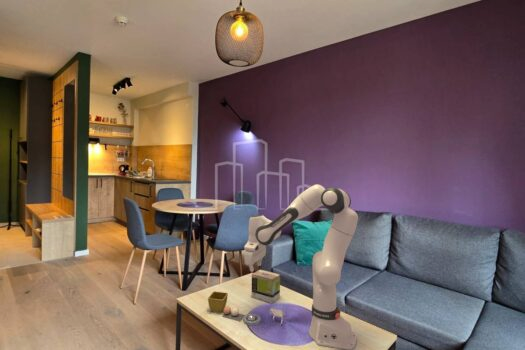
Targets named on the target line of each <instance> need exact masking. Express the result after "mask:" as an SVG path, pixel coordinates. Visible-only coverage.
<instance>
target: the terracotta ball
mask: <svg viewBox="0 0 525 350" xmlns="http://www.w3.org/2000/svg"><path fill="white" fill-rule="evenodd" d="M231 310H232V308H231V307H230V306H229V305H226V306H225V308H224V309H223V311H222V312H223V313H224V314H229V313H230V312H231Z"/></svg>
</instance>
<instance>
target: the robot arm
mask: <svg viewBox="0 0 525 350" xmlns="http://www.w3.org/2000/svg"><path fill="white" fill-rule="evenodd" d="M351 204H352V200H351V196H350V194H348V192H347V191H346V192H345V191H344V190H343V189H341V188H337V187H328V188H325V187H324V186H323V185H321V184H316V183H315V184H313V185H312V186H310V187H308V188H307V189H305V190H304V191H302V192H301V193H299V195H297V196H296V198H295V199H294V200H292V202H291V203H290V204H289V205H288V207H286V209H285V210H284V211H282V213H281V214H280V215H278V216H277V217H276V218H275V219H273V220H271V219H269V218H267V217H266V216H265V215H264V214H253V215H252V216H250V218H249V221H248V230H247V231H248V240H247V242H246V243H245V245H244V247H243V248H244V249H243V250H244V257H243V258H244V264H245V265H246V266H248V268H249V271H250V272H254V271H255V268H254V264H255V263H257V267H258V266H259V267H260V266H261V265H262V263H263V262H262V261H263V258H264V257H265V256H266V254H267V248H266V247H267V246H269V245H271V244H272V243H273V241H275V240H276V239H278V238H279V237H280V236H281V234H282V230H283V229H285V228H286V227H288V226H289V225H290V224H292V223H294V222H296V221H298V220H301V219H303V218H305V217H307V216H309V215H310V214H312V213H313V212H315V211H316V210H317V209H318V208H320V207H321V206H323V207H324V208H326V210H327V211H328V212H330V213H331V214H332V215H334V216H333V220H332V222H331V225H330V226H329V229H328V231H327V233H326V236H325V238H324V240H323V246H322V250H320V251H319V250H318V251H317V252H315V253H314V254H313V257H312V265H311V266H312V268H311V269H312V286H313V287H312V288H313V289H312V294H313V295H312V304H311V323H310V327H309V329H308V335H309V337H310V338H311V339H312V340H314V342H315V344H317V345H318V346H322V347H328V348H335V349H340V350H353V349H355V347H356V345H357V342H358V341H357V340H358V339H357V334H356V333H355V332H354V331H353V330H352V326H351V324H350V322H349V321H347V320H346V319H345V318H344V317H343V316H342V315H341V307H339V308H338V307H337V284H338V283H339V282H340V280H341V276H342V269H343V266H344V261H345V257H346V254H347V250H348V248H349V246H350V244H351V241H352V239H353V237H354V234H355V232H356V230H357V229H356V228H357V224H358V220H359V215H358V214H357V212H356V211H355V210H354V209H352V208H350V206H351Z"/></svg>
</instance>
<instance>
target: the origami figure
mask: <svg viewBox="0 0 525 350" xmlns="http://www.w3.org/2000/svg"><path fill="white" fill-rule="evenodd" d="M268 312H269V315H270V316H272V315H273V316H272V320H273V321H274V322H276V321H275V317H278V318H279V317H280V318H281V321H280V325H281V324H282V325H283V319H284V317H285V316H286V315H287V314H286V313H285V312H284V311H283V310H280V309H276V308H272V307H271V308H270V309H269V310H268Z"/></svg>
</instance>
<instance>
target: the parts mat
mask: <svg viewBox="0 0 525 350" xmlns="http://www.w3.org/2000/svg"><path fill="white" fill-rule="evenodd" d="M245 315H246V314H243V313H238V315H237V316H233V315H232V314H231V312H230V313H229V314H225V313H224V314H223V315H222V316H221V317H222V318H225V319H228V320H232V321H237V322H239V323H240V322H241V321H243V317H244V316H245Z"/></svg>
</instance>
